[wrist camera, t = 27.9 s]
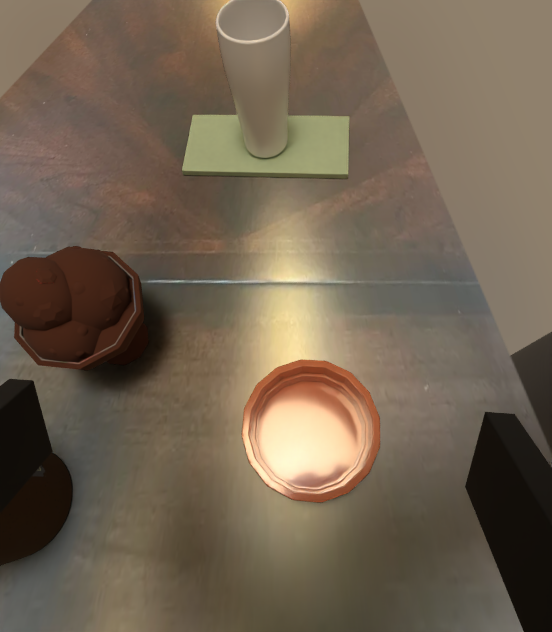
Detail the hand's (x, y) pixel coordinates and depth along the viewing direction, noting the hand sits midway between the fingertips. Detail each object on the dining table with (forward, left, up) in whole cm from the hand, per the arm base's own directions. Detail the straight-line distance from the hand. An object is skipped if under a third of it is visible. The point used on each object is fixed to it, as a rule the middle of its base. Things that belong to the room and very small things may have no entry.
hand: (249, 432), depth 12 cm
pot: (-2, -3, -28) cm, 28 cm away
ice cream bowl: (+18, -11, -28) cm, 35 cm away
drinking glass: (+5, -37, -27) cm, 46 cm away
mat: (+5, -37, -28) cm, 46 cm away
